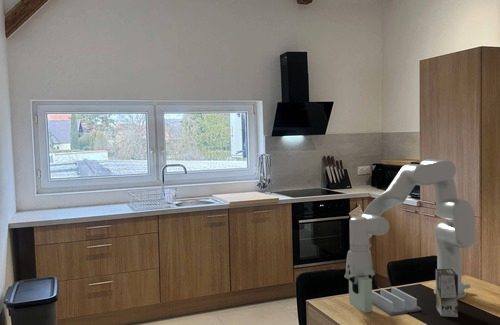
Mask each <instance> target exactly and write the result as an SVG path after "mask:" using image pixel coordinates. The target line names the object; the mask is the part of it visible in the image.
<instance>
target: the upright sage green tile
mask: <svg viewBox="0 0 500 325" xmlns="http://www.w3.org/2000/svg"><path fill="white" fill-rule="evenodd" d="M349 276H350V277H351V274H350V275H349ZM372 282H373V279H372V278H371V279H370V278H368V277H366V276H358V277H357V284H358V294H356V293H354V292H353V290H352V282H351V281H350V280H349V279H348V295H349V296H348V303H349V304H351V305H353V306H354V307H355V308H357V309H359V310H360V311H361V312H363V313H373V304H372V291H373V283H372Z"/></svg>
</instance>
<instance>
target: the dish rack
mask: <svg viewBox="0 0 500 325" xmlns="http://www.w3.org/2000/svg"><path fill="white" fill-rule="evenodd" d="M390 289H391V290H390V291H388V290H386V289H385V288H380V289H379V290H380V291H379V292H380V294H379V293H378V292H376V291H374V290H372V306H375V307H376V308H378V309H379V310H381V311H383V312H384V313H385V314H387V315H389V316H396V314H397V315H401V313H403V314H407V313H408V312H409V313H414V312H420V311H422V308H421V307H420V306H418V304H417V303H418V298H415V297H414V296H412V295H410V294H408V293H407V292H404V291H403V290H400V289H399V288H396V287H394V286H390Z"/></svg>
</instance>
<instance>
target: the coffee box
mask: <svg viewBox="0 0 500 325" xmlns="http://www.w3.org/2000/svg"><path fill="white" fill-rule="evenodd" d="M435 288H436V294H435V299H436V301H435V307H436V311H437V312H438V313H439V315H440V316H441V317H449V318H458V317H459V299H458V275H457V274H456V273H455V272H454V271H453V270H452V269H437V268H435Z"/></svg>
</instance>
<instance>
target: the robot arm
mask: <svg viewBox="0 0 500 325" xmlns="http://www.w3.org/2000/svg"><path fill="white" fill-rule="evenodd" d="M456 174H457V167H456V165H455V164H454V162H453V161H451V160H448V159H437V158H427V159H423V160H422V161H420V163H419V164H417V163H408V164H404V165H403V166H402V167H401V168H400V170H398V172H397V174H396V175H395V177H394V178H393V180H392V181H391V183H389V185H388V187H387V188H386V189H385V191H384V192H382V193H380V195H378V196H377V197H376V198H374V199H373V200H372V201H370V202H369V204H368V205H367V206H366V208H365V210H364V211H363V212H362V214H361V216H353V217H351V218H350V219H349V250H348V251H347V254H346V263H345V273H344V278H345V279H347V280H348V281H349V280H350V281H351V282H352V290H353V292H354V293H356V294H358V284H357V277H358V276H366V277H368V278H370V279H372V277H374V275H376V271H375V270H374V269H373V267H374V266H373V258H372V252H371V250H370V248H371V247H372V244H371V243H370V238H369V236H383V235H385V234H387V233H388V232H389V230H390V223H389V222H390V221H388V219H386V218H385V217H383V216H382V214H383V213H384V212H386V211H387V210H389V209H391V208H394V207H397V206H400V205H402V204H403V203H404V202H406V200H407V199H408V197H409V195H410V194H411V192H412V190H413V189H414V188H415V187H416V186H422V187H423V186H430V185H432V186H433V188H434V189H433V190H434V196H435V198H434V199H435V210H436V214H437V215H438V216H439V217H440V218H442V219H444V220H447V221H442V222H439V223H438V224H437V225H436V226H435V228H434V238H435V244H436V253H437V255H436V256H437V258H436V261H437V264H436V266H437V268H436V269H452V270H453V271H454V272H455V273H456V274H457V275H458V300H460V299H463V298H466V292H465V291H464V290H467V289H471V288H472V286H471V284H470V283H465V284H464V283H463V282H462V251H461V249H463V250H464V249H469V248H471V247H472V246H473V245H474V244H475V241H476V222H475V219H476V218H475V212H474V211H475V210H474V208H473V205H472V204H471V203H470V202H469V201H467V200H466V199H464V198H463V199H461V198H458V193H457V187H456V182H455V180H454V177H455V176H456ZM350 274H351V277H350V276H349V275H350ZM433 293H434V295H436V287H435V288H434V289H433Z"/></svg>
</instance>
